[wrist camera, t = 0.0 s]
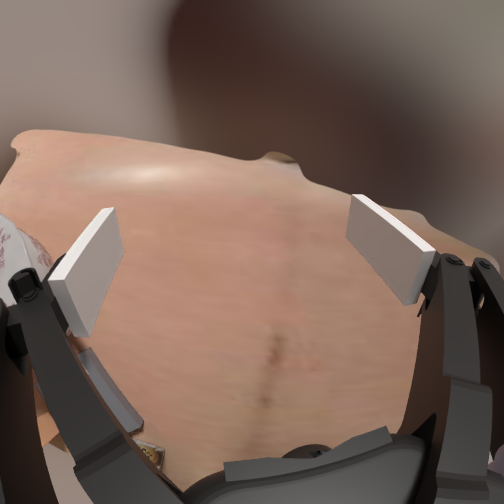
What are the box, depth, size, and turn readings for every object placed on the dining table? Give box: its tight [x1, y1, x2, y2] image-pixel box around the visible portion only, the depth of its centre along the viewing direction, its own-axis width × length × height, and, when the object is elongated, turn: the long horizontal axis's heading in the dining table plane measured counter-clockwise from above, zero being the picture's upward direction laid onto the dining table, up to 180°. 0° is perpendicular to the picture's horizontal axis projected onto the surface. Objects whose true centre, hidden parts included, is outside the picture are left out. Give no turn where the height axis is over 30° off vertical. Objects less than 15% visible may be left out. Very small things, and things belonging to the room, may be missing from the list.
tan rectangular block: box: [37, 412, 59, 447], centre depth 36 cm, size 5×6×10 cm
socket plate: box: [35, 347, 144, 433], centre depth 41 cm, size 18×18×4 cm
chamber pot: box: [0, 213, 72, 336], centre depth 34 cm, size 28×28×21 cm
